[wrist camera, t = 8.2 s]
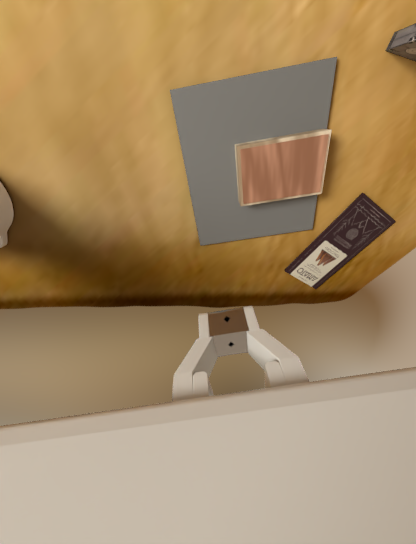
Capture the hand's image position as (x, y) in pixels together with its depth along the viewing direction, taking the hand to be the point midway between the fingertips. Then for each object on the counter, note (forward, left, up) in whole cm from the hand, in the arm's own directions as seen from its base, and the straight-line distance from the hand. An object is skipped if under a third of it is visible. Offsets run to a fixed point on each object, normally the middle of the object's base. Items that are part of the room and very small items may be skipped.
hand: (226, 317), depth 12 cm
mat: (+7, +1, -27) cm, 28 cm away
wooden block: (+4, +1, -25) cm, 26 cm away
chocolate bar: (+22, -15, -28) cm, 38 cm away
